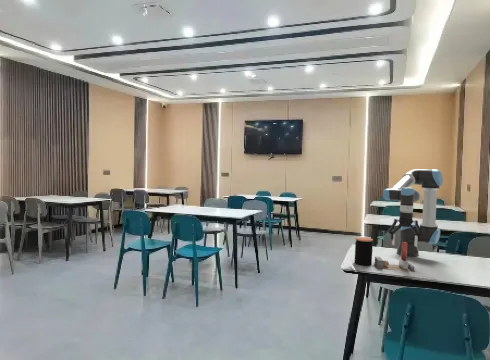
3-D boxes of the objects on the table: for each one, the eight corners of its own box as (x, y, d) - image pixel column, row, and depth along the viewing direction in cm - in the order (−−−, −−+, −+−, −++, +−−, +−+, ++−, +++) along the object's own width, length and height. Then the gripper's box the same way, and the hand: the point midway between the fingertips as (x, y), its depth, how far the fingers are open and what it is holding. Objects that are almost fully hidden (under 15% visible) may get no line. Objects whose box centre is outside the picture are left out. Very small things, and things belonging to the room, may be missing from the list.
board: (373, 265, 238) (373, 255, 238) (408, 268, 236) (408, 258, 235) (377, 271, 226) (378, 260, 225) (414, 273, 223) (415, 263, 222)
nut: (381, 265, 233) (381, 259, 233) (387, 266, 233) (388, 259, 233) (382, 267, 229) (383, 261, 229) (389, 267, 229) (389, 261, 229)
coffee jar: (373, 265, 238) (374, 238, 238) (368, 269, 229) (370, 241, 229) (357, 262, 244) (358, 236, 244) (352, 266, 235) (353, 238, 235)
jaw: (398, 265, 234) (399, 240, 234) (403, 265, 234) (405, 241, 233) (402, 269, 225) (404, 243, 225) (408, 269, 225) (409, 243, 224)
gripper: (387, 211, 226) (385, 245, 227) (429, 213, 223) (427, 248, 224) (384, 210, 234) (382, 242, 234) (425, 212, 230) (423, 245, 231)
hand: (404, 245), depth 229 cm, fingers open, 13 cm apart
